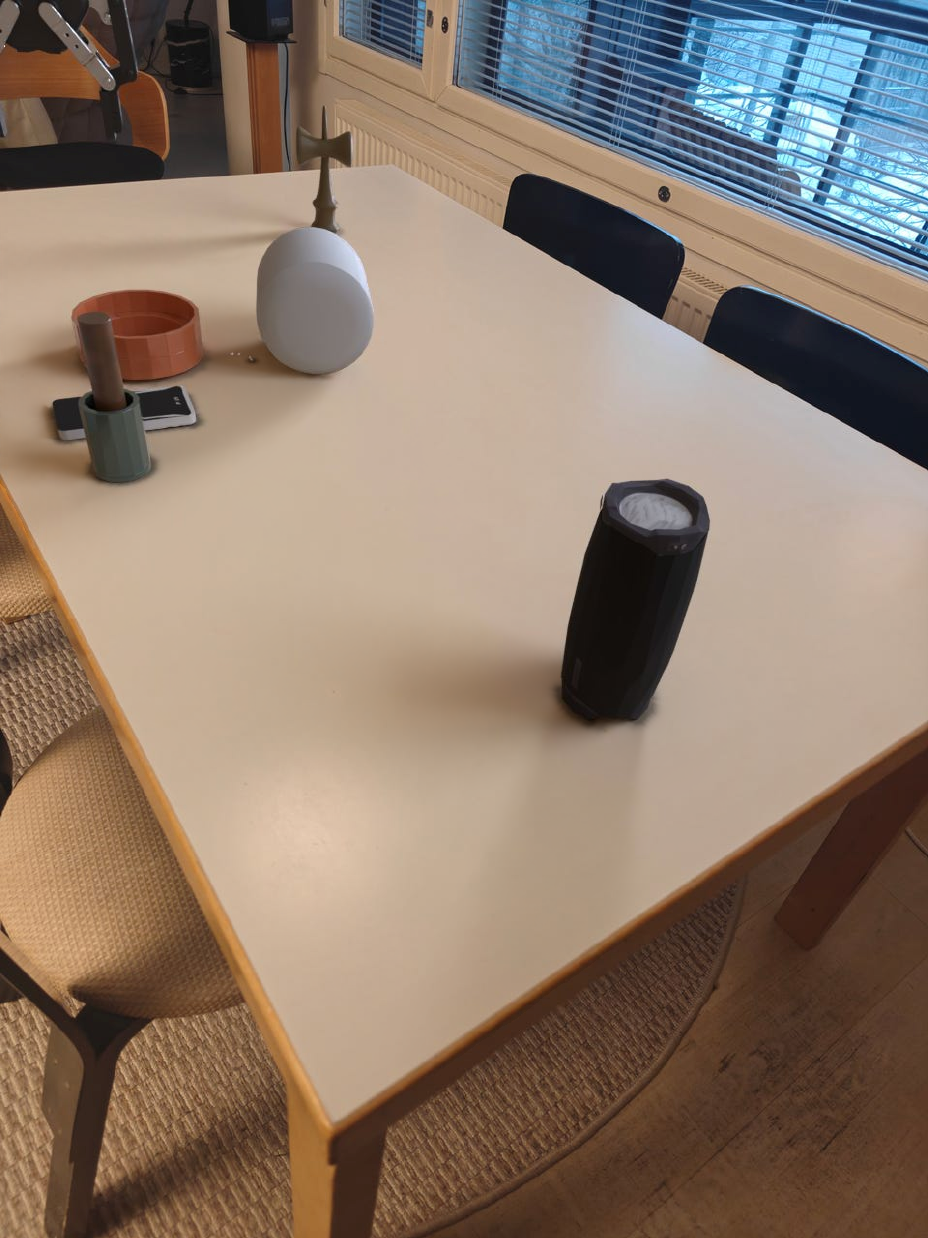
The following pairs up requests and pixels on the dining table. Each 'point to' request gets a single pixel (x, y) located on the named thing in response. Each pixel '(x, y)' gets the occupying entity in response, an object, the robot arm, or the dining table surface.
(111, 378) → the stirring stick
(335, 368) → the white oval cylinder
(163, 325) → the bowl
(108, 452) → the holder
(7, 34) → the robot arm
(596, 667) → the portable speaker
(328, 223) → the kendama
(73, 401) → the smartphone
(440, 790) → the dining table surface
